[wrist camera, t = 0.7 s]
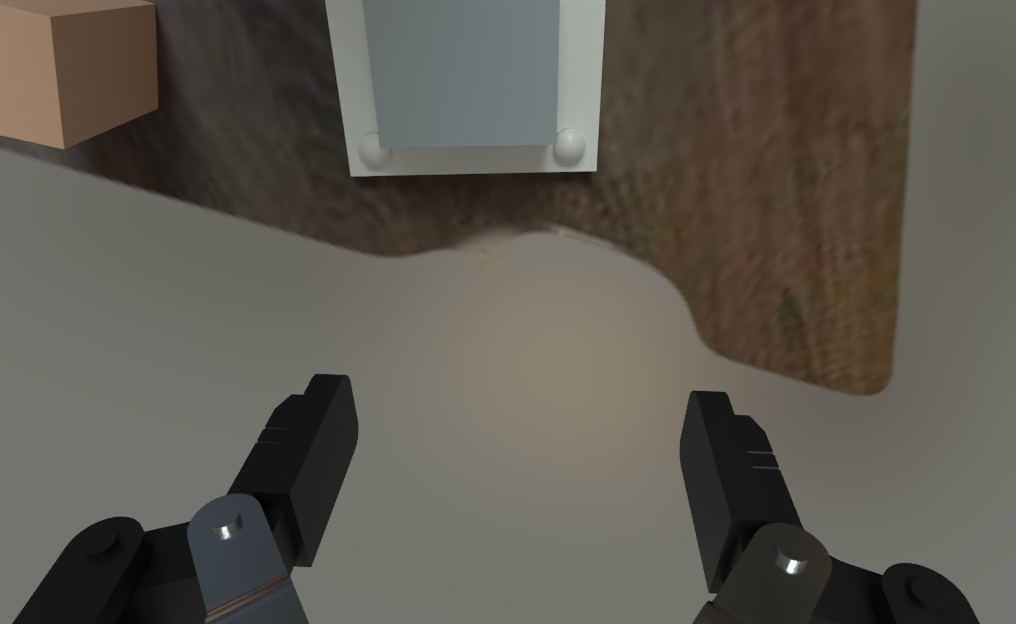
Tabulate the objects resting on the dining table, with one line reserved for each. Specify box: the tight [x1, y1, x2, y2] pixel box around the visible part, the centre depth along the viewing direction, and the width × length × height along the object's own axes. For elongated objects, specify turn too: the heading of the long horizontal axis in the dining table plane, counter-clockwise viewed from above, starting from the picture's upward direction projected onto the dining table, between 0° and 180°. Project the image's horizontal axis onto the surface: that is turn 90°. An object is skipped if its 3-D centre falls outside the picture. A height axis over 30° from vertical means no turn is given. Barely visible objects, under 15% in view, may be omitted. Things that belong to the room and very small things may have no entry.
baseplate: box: [325, 0, 606, 176], centre depth 28 cm, size 13×13×5 cm
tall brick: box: [0, 0, 158, 149], centre depth 27 cm, size 5×5×8 cm
